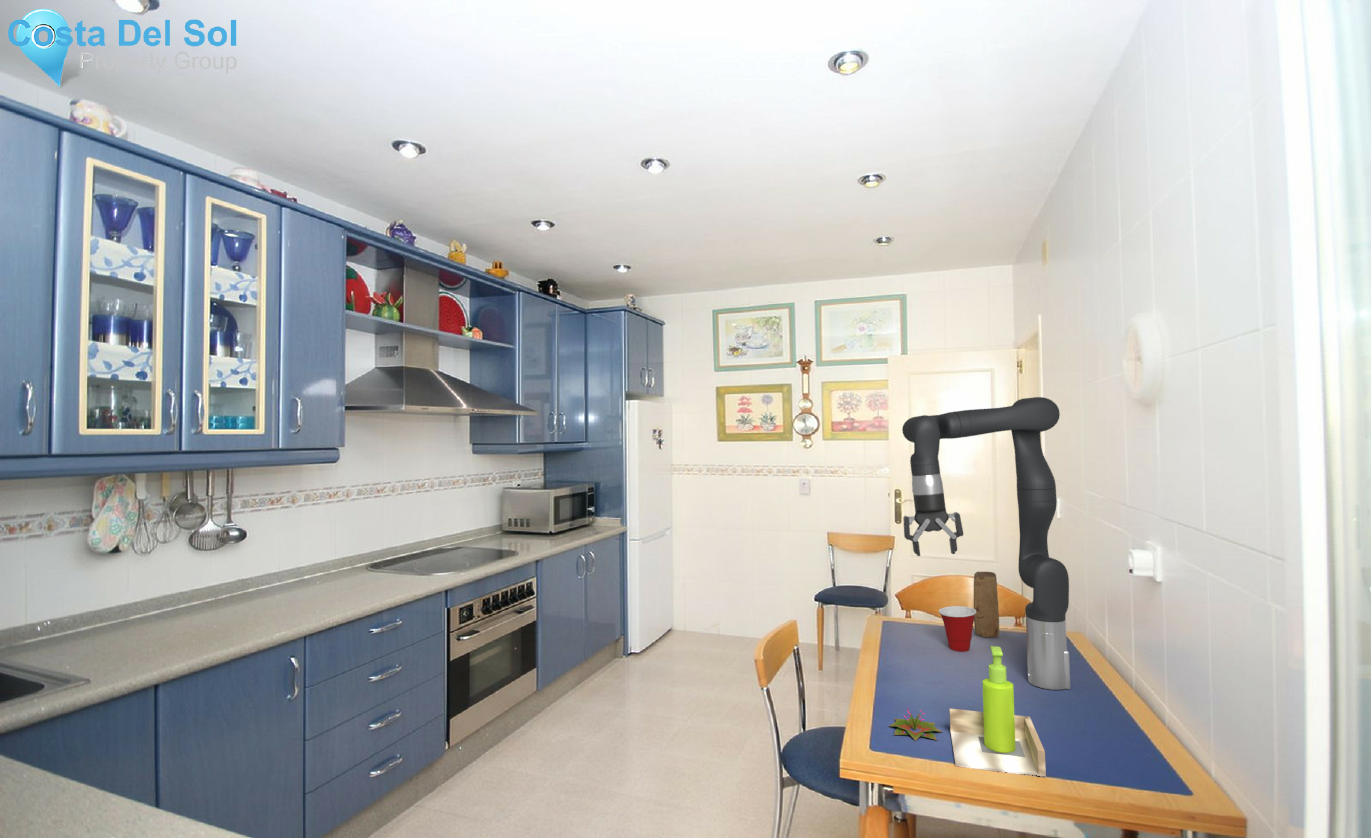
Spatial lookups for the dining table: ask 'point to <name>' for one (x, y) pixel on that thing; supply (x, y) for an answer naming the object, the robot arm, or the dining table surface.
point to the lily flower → (915, 724)
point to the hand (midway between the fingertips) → (935, 554)
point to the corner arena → (976, 755)
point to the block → (986, 605)
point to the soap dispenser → (998, 707)
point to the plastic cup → (958, 626)
